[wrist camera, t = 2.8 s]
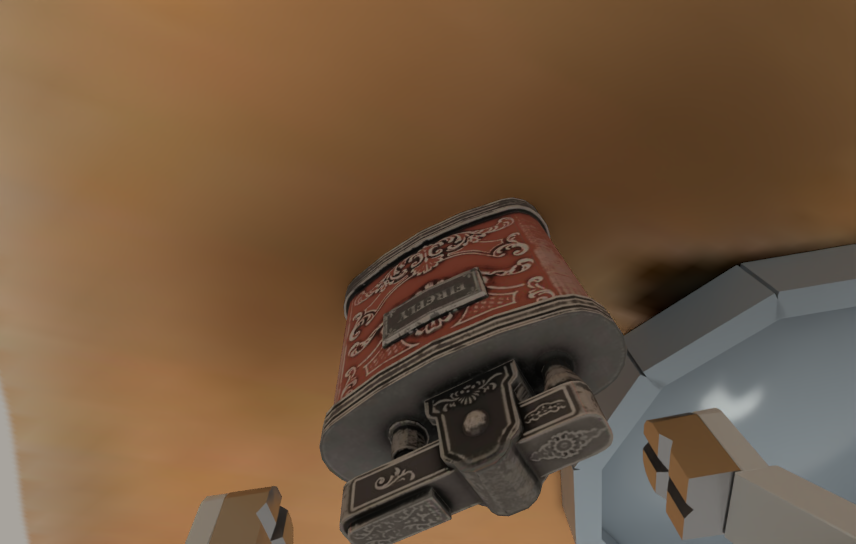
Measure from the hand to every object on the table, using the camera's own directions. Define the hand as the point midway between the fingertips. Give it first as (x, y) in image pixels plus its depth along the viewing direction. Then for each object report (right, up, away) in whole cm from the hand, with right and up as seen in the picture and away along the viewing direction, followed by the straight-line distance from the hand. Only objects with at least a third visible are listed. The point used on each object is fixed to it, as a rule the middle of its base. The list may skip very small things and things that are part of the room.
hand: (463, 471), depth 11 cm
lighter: (0, +5, +8) cm, 9 cm away
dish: (+15, -4, +13) cm, 21 cm away
